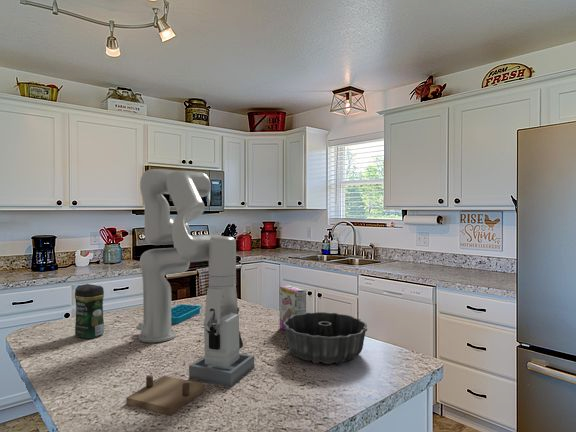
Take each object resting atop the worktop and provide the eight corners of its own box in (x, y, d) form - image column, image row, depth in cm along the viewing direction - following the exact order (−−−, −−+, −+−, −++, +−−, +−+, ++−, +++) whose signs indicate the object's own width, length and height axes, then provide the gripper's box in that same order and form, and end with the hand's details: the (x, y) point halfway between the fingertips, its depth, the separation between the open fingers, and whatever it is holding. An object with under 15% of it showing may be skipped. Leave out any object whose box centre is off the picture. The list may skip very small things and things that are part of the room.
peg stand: (126, 403, 90) (126, 386, 90) (164, 381, 102) (164, 366, 102) (171, 415, 85) (171, 397, 85) (205, 390, 97) (205, 374, 97)
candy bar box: (278, 328, 148) (278, 286, 148) (289, 326, 151) (289, 284, 151) (295, 336, 139) (295, 291, 138) (306, 334, 142) (306, 289, 141)
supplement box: (240, 358, 110) (240, 314, 109) (227, 368, 103) (226, 321, 103) (217, 354, 112) (217, 311, 112) (203, 364, 105) (203, 318, 105)
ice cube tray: (203, 312, 173) (203, 305, 173) (178, 325, 153) (178, 317, 153) (180, 310, 176) (180, 304, 176) (153, 322, 157) (153, 315, 157)
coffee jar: (70, 336, 139) (70, 285, 138) (91, 330, 145) (90, 281, 145) (88, 341, 134) (87, 287, 134) (108, 334, 141) (107, 283, 141)
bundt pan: (383, 354, 122) (383, 322, 122) (332, 379, 103) (332, 342, 103) (319, 335, 141) (319, 307, 141) (266, 354, 122) (266, 322, 122)
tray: (189, 378, 104) (189, 365, 104) (215, 361, 116) (215, 349, 116) (230, 386, 99) (230, 373, 99) (254, 367, 111) (254, 355, 111)
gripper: (227, 275, 117) (227, 333, 117) (192, 285, 101) (192, 352, 101) (249, 276, 114) (249, 336, 114) (216, 287, 98) (216, 357, 98)
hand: (222, 343), depth 107 cm, fingers closed on supplement box, 7 cm apart
